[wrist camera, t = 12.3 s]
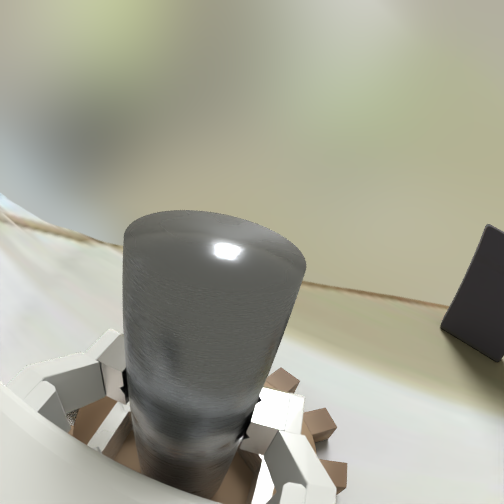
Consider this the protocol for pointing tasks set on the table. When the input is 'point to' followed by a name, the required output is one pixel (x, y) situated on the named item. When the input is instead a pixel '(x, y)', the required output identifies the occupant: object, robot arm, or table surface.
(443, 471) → the table surface
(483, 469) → the table surface
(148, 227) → the pin
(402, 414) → the table surface
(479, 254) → the charcoal rounded block
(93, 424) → the sprocket
